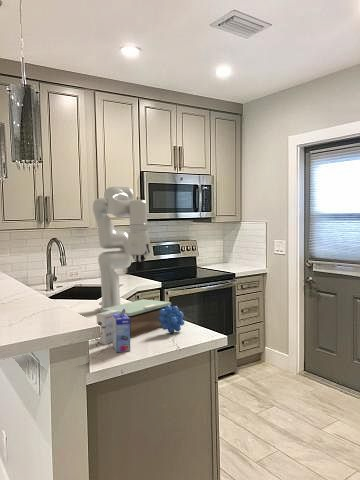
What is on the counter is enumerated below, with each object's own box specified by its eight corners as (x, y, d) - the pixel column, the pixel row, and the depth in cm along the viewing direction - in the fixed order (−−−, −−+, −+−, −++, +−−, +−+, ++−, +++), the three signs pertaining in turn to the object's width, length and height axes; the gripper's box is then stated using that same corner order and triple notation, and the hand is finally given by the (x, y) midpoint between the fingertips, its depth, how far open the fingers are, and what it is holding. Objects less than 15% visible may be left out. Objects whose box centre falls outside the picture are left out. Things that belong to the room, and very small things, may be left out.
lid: (102, 311, 171) (101, 307, 171) (143, 301, 190) (142, 298, 190) (131, 316, 159) (130, 311, 159) (171, 304, 178) (171, 301, 177)
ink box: (113, 337, 162) (112, 308, 161) (121, 339, 159) (120, 310, 158) (97, 342, 155) (95, 313, 154) (105, 344, 152) (103, 314, 151)
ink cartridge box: (131, 351, 143) (130, 312, 143) (116, 353, 142) (114, 313, 141) (127, 343, 153) (125, 306, 152) (112, 345, 151) (111, 308, 150)
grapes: (162, 337, 159) (161, 308, 158) (156, 333, 165) (155, 305, 164) (188, 333, 163) (187, 304, 163) (182, 329, 169) (181, 301, 169)
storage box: (103, 330, 172) (102, 312, 172) (143, 318, 190) (142, 302, 190) (131, 337, 160) (130, 318, 160) (171, 324, 178) (170, 307, 178)
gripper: (120, 228, 173) (122, 270, 174) (144, 228, 163) (145, 272, 164) (133, 228, 179) (134, 268, 180) (157, 228, 169) (158, 270, 170)
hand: (140, 270), depth 172 cm, fingers closed
